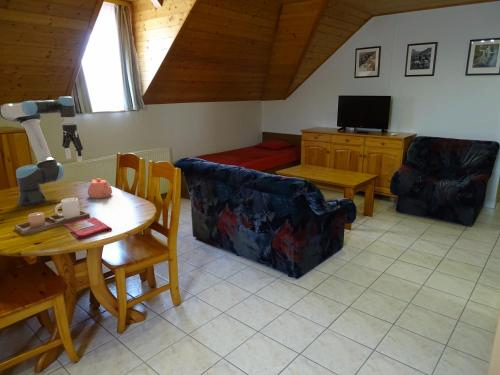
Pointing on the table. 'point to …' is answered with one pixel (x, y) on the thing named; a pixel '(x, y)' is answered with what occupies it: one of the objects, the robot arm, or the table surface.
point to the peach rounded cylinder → (36, 220)
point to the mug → (69, 208)
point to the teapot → (99, 189)
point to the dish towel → (89, 228)
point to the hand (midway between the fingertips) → (74, 160)
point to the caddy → (50, 223)
